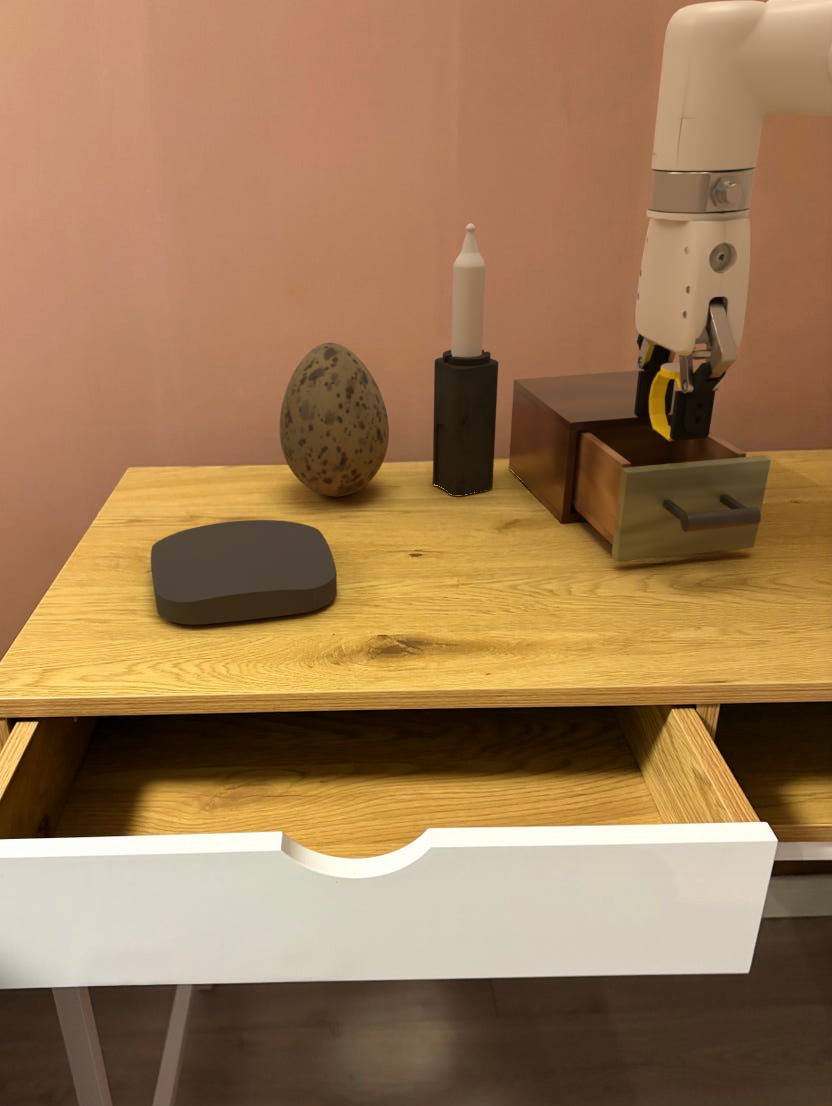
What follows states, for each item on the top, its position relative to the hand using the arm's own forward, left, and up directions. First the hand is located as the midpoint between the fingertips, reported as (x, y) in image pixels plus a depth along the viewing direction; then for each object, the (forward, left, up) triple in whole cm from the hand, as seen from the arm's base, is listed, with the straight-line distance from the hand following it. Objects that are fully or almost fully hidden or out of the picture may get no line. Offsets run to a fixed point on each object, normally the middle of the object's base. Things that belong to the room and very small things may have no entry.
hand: (670, 424), depth 83 cm
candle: (+13, -17, -10) cm, 24 cm away
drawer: (0, +1, -9) cm, 9 cm away
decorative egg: (+26, -18, -10) cm, 33 cm away
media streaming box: (+37, +1, -10) cm, 39 cm away
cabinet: (0, -13, -10) cm, 16 cm away
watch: (0, 0, -1) cm, 1 cm away
